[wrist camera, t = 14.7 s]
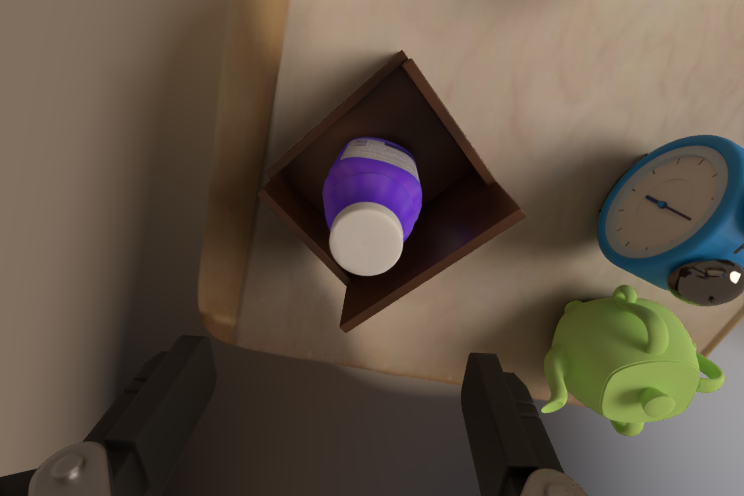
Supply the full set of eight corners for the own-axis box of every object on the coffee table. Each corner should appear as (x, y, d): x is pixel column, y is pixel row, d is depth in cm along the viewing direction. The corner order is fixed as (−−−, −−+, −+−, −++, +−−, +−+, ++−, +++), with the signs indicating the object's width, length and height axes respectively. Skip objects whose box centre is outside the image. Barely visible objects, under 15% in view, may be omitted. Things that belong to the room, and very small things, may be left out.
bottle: (332, 184, 37) (293, 273, 21) (346, 126, 34) (311, 179, 19) (404, 203, 38) (416, 303, 22) (422, 147, 35) (449, 216, 19)
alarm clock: (661, 121, 37) (818, 156, 24) (709, 150, 38) (884, 198, 25) (574, 230, 43) (660, 309, 29) (617, 252, 44) (720, 338, 30)
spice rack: (280, 159, 40) (220, 213, 26) (400, 51, 35) (409, 44, 21) (358, 245, 44) (345, 333, 30) (475, 159, 39) (526, 216, 25)
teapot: (566, 390, 53) (615, 479, 42) (506, 332, 49) (541, 414, 38) (678, 327, 48) (768, 410, 37) (621, 256, 44) (703, 325, 32)
